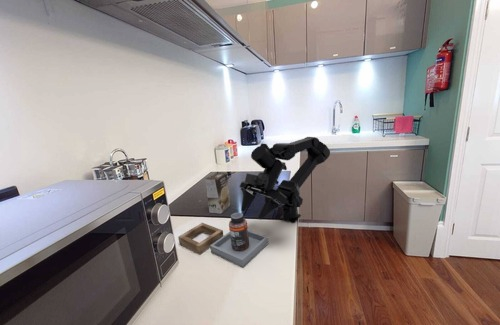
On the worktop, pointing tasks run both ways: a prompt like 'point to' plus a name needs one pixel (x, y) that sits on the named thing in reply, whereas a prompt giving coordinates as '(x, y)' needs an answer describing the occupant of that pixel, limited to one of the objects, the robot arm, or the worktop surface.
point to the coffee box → (217, 192)
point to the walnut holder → (203, 245)
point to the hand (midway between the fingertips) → (250, 214)
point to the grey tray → (239, 257)
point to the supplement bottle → (238, 232)
